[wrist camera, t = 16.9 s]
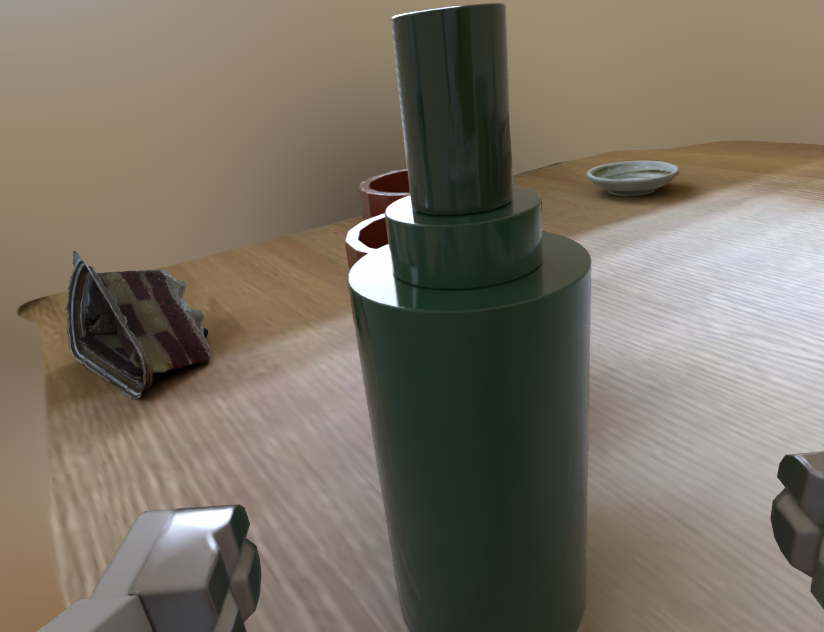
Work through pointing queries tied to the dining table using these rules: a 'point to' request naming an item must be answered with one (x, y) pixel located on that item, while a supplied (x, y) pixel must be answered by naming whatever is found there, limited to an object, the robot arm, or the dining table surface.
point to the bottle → (475, 352)
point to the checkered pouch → (132, 325)
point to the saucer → (632, 177)
